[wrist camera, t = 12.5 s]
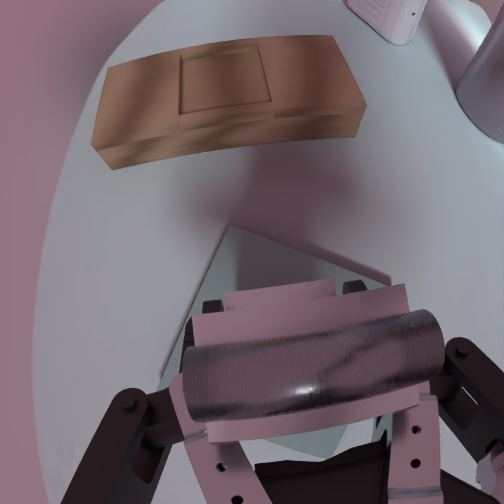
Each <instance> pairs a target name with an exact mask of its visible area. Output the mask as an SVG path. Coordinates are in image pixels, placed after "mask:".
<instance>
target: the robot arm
mask: <svg viewBox="0 0 504 504" xmlns="http://www.w3.org/2000/svg"><path fill="white" fill-rule="evenodd" d="M456 95H457V98H458V101H459V103H460V105H461V107H462V108H463V110H464V111H465V113H466V114H467V115H468V117H469V118H470V119H471V120H472V122H473V123H474V124H475V125H476V126H477V127H478V128H479V129H480V130H482V131H483V132H484V133H485V134H486V135H488V136H489V137H491V138H492V139H494V140H496V141H497V142H500V143H503V144H504V3H503V5H502V7H501V9H500V11H499V13H498V15H497V17H496V18H495V20H494V22H493V24H492V26H491V28H490V29H489V31H488V33H487V35H486V37H485V38H484V40H483V42H482V44H481V45H480V47H479V49H478V50H477V52H476V54H475V56H474V57H473V59H472V61H471V62H470V64H469V65H468V67H467V69H466V70H465V72H464V74H463V75H462V77H461V78H460V80H459V82H458V83H457V86H456ZM366 290H368V289H367V287H366V285H365V284H364V282H363V281H362V280H361V279H360V280H354V281H348V282H344V283H343V289H342V295H343V294H349V293H355V292H360V291H366ZM215 312H224V307H223V302H222V300H221V299H218V300H209V301H203V306H202V314H206V313H215ZM184 334H185V336H184V340H183V347H182V354H181V361H180V369H179V374H178V375H177V376H175V377H174V378H173V380H172V381H171V383H170V386H169V387H167V388H165V389H163V390H161V391H157V392H154V393H151V394H147V395H146V394H145V393H144V392H143V391H142V390H140V389H137V388H128V389H124V390H122V391H121V392H119V393H118V394H117V395H116V396H115V397H114V398H113V400H112V402H111V404H110V406H109V408H108V409H107V411H106V413H105V415H104V417H103V419H102V421H101V423H100V425H99V427H98V428H97V430H96V432H95V434H94V436H93V438H92V440H91V442H90V444H89V446H88V448H87V450H86V452H85V454H84V456H83V458H82V460H81V462H80V464H79V466H78V468H77V470H76V472H75V474H74V476H73V478H72V480H71V483H70V485H69V487H68V489H67V491H66V493H65V495H64V497H63V500H62V502H61V504H151V501H152V499H153V496H154V493H155V490H156V488H157V485H158V482H159V480H160V477H161V474H162V472H163V469H164V466H165V463H166V461H167V458H168V455H169V453H170V450H171V447H172V445H173V444H175V443H178V442H182V441H183V442H184V446H185V449H186V451H187V454H188V457H189V459H190V462H191V465H192V467H193V470H194V473H195V475H196V478H197V480H198V483H199V485H200V488H201V490H202V492H203V495H204V497H205V499H206V502H207V504H504V372H503V371H502V370H501V369H500V368H499V367H498V366H497V365H496V364H495V363H494V362H493V361H492V360H491V359H490V358H488V357H487V356H486V355H485V354H484V353H483V352H482V351H481V350H480V349H479V348H478V347H477V346H476V345H475V344H474V343H473V342H471V341H470V340H468V339H466V338H462V337H456V338H452V339H451V340H449V341H448V342H447V344H446V346H445V360H444V365H443V368H442V371H441V373H440V374H439V375H438V376H437V377H436V378H435V379H432V380H429V381H426V382H423V383H420V384H418V385H419V400H420V404H417V405H414V406H411V407H408V408H405V409H401V410H398V411H395V412H392V413H388V414H385V415H381V416H378V417H374V429H373V436H372V440H371V443H368V444H364V445H361V446H357V447H353V448H350V449H348V450H346V451H344V452H342V453H340V454H338V455H336V456H334V457H331V458H329V459H327V460H325V461H321V462H309V461H292V460H284V461H276V462H268V463H259V464H255V471H254V470H253V468H252V466H251V464H250V462H249V461H248V459H247V457H246V455H245V453H244V451H243V449H242V447H241V445H240V443H239V441H229V442H210V443H209V440H208V434H207V428H206V422H204V423H195V422H194V421H193V420H192V418H191V417H190V415H189V412H188V409H187V406H186V402H185V397H184V391H183V381H182V363H183V356H184V352H185V350H186V348H187V347H192V346H195V341H194V332H193V323H192V316H191V317H190V319H189V320H188V322H187V323H186V326H185V333H184ZM462 387H463V388H464V389H465V390H466V391H467V392H468V393H469V394H470V395H471V396H472V398H473V399H474V400H475V401H476V402H477V404H478V405H477V404H476V403H475V402H474V401H473V399H472V398H471V397H470V396H469V395H468V394H467V393H466V392H465V391H464V389H463V388H462ZM439 416H440V417H441V418H442V420H443V421H444V422H445V423H446V425H447V426H448V427H449V428H450V430H451V431H452V432H453V433H454V435H455V436H456V437H457V438H458V440H459V441H460V442H461V443H462V445H463V446H464V447H465V448H466V450H467V451H468V452H469V454H470V455H471V456H472V457H473V459H474V460H475V461H476V463H477V464H478V465H477V469H476V473H477V475H476V481H477V482H478V483H479V484H481V490H479V489H477V488H475V487H473V486H471V485H469V484H467V483H466V482H464V481H462V480H460V479H458V478H456V477H454V476H453V475H451V474H449V473H447V472H445V471H444V470H442V469H440V430H439Z"/></svg>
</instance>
